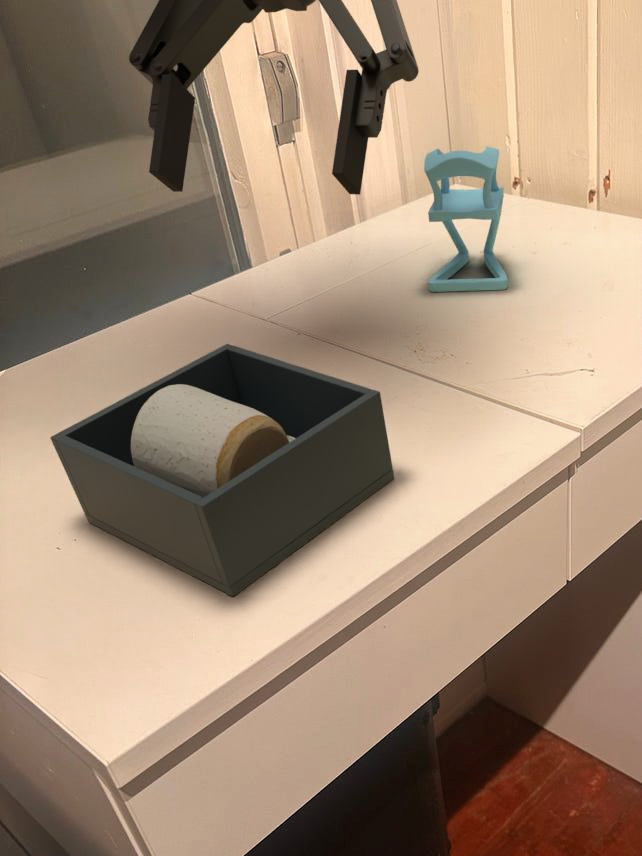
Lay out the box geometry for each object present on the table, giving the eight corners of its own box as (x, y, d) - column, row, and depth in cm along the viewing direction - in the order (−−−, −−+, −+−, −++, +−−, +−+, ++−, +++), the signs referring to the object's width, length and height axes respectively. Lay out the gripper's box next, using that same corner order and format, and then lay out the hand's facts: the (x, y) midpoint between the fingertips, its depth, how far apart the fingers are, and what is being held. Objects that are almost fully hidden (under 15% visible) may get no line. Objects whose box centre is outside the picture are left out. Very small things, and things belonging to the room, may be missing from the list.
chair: (514, 257, 94) (508, 127, 86) (507, 289, 88) (499, 154, 80) (440, 259, 95) (427, 132, 87) (428, 292, 89) (412, 158, 81)
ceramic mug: (239, 545, 59) (207, 440, 54) (149, 515, 63) (111, 413, 57) (337, 466, 66) (317, 365, 61) (251, 442, 69) (225, 345, 64)
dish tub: (87, 522, 64) (49, 436, 60) (249, 424, 73) (227, 343, 68) (233, 597, 57) (201, 506, 52) (394, 478, 65) (380, 391, 61)
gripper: (494, -111, 60) (447, 213, 61) (170, -84, 67) (131, 206, 68) (460, -215, 53) (407, 154, 53) (101, -173, 60) (58, 153, 60)
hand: (253, 183), depth 61 cm, fingers open, 13 cm apart
